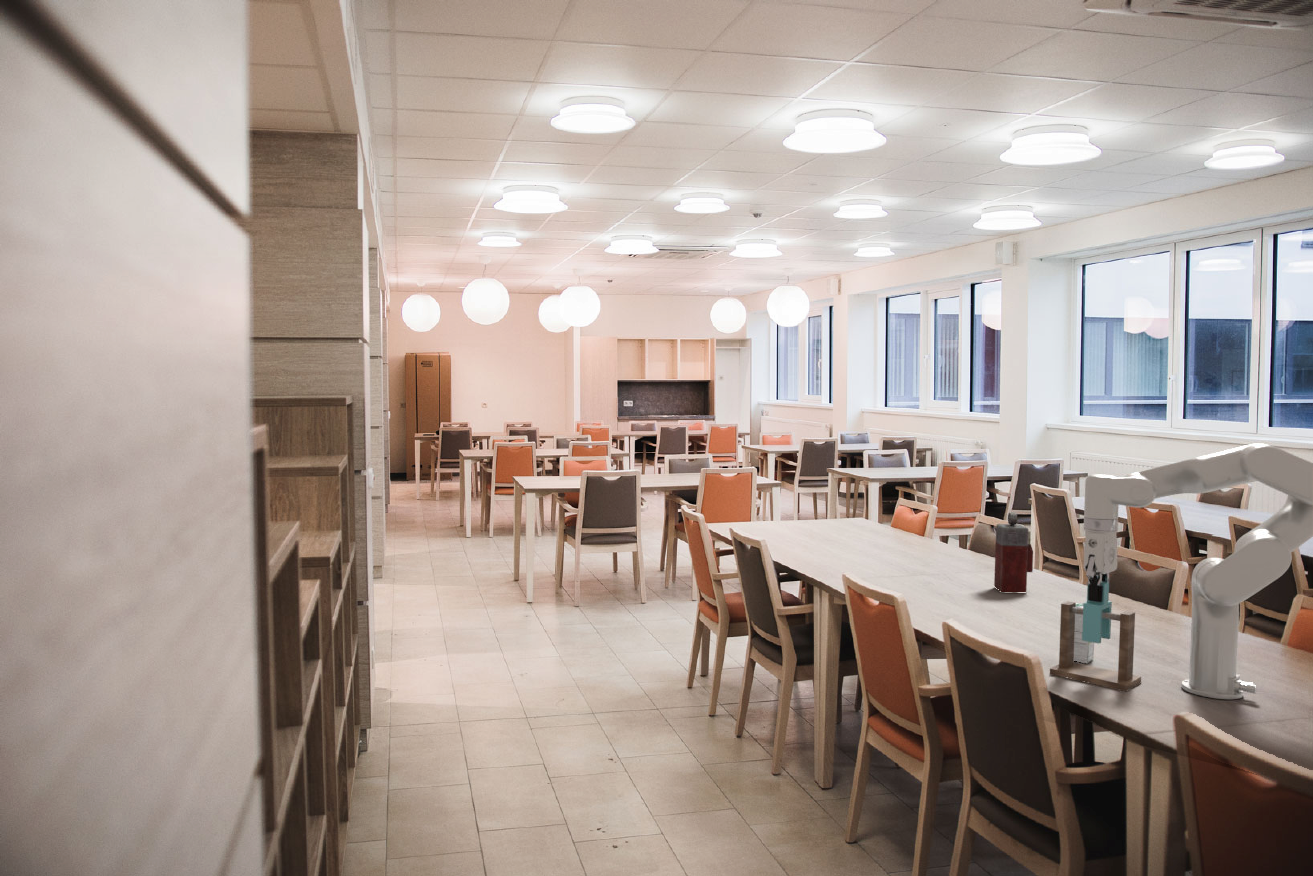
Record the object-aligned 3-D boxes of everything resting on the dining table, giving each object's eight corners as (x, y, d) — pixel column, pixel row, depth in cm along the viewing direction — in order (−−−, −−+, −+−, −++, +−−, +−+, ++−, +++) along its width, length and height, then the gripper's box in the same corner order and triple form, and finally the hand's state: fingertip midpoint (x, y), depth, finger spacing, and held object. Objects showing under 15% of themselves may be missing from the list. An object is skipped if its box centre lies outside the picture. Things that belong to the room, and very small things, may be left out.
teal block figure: (1110, 638, 232) (1112, 581, 231) (1099, 643, 227) (1101, 585, 226) (1093, 635, 235) (1095, 578, 234) (1082, 640, 230) (1084, 582, 229)
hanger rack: (1140, 682, 228) (1143, 611, 228) (1126, 691, 221) (1129, 617, 221) (1065, 666, 241) (1068, 599, 240) (1049, 674, 234) (1052, 604, 233)
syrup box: (1070, 655, 252) (1072, 602, 251) (1094, 660, 248) (1096, 605, 247) (1064, 660, 247) (1066, 605, 246) (1088, 664, 243) (1090, 609, 243)
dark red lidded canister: (1033, 594, 331) (1036, 514, 329) (1000, 592, 332) (1003, 513, 331) (1025, 588, 340) (1028, 511, 338) (993, 587, 341) (996, 510, 339)
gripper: (1104, 530, 221) (1101, 607, 222) (1128, 524, 233) (1126, 597, 233) (1071, 526, 226) (1069, 602, 227) (1097, 520, 238) (1094, 593, 239)
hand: (1098, 599), depth 230 cm, fingers closed on teal block figure, 3 cm apart
